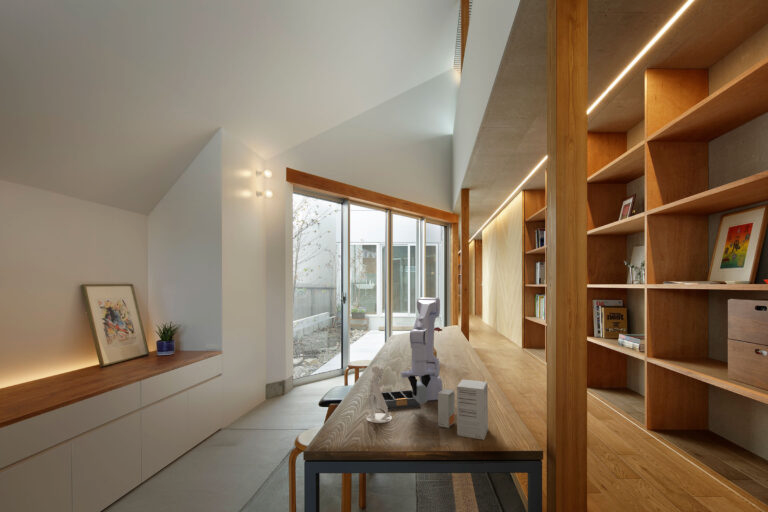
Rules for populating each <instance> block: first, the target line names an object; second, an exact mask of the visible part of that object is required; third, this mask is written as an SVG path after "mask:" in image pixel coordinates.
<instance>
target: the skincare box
mask: <svg viewBox="0 0 768 512" xmlns="http://www.w3.org/2000/svg"><path fill="white" fill-rule="evenodd" d="M455 398H456V397H455V390H453V389H449V388H443V389H442V391H440V392H439V393H438V400H437V425H438V427H443V428H446V429H449V428H450V427H452V426H453V425H454V424H455V423H456V422H455V420H456V419H455V418H456V417H455V414H456V413H455V410H456V407H455V400H456V399H455Z"/></svg>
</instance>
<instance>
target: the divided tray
mask: <svg viewBox="0 0 768 512" xmlns="http://www.w3.org/2000/svg"><path fill="white" fill-rule="evenodd" d="M381 393H382V395H383V398H384V400H385V403H386V405H387V407H388V411H389V410H397V409H398V410H399V409H407V408H417V407H421V403H418V402H417V401H416V400H415V399H414V398H413V390H412V389H407V390H396V391H385V392H382V391H381Z"/></svg>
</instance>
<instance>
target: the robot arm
mask: <svg viewBox="0 0 768 512" xmlns="http://www.w3.org/2000/svg"><path fill="white" fill-rule="evenodd" d="M416 300H417V301H416V309H417V311H418V314H419V316H418V317H417V318H416V319H415V322H414V325H413V329H412V330H410V331H409V344H410V349H411V370H406V371H401V372H400V378H401V379H405V378H407V379H408V381H409V383H410V387H411V390H412V391H413V395H414V396H416V395H417V389H416V387H417V381H418V379H417V377H418V378H419V381H420V382H421V383H422V384H424V385H425V386H426V392H427V402H428V401H438V393H439V392H440V391H442V390H443V381H442V378H441V377H440V371H441V369H440V360H439V358H438V357H437V356H435V354H434V347H435V346H434V344H435V343H434V342H435V322H436V318H439V317H440V314H441V313H440V312H441V300H440V298H439V297H421V296H418V298H417V299H416Z"/></svg>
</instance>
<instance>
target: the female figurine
mask: <svg viewBox="0 0 768 512" xmlns="http://www.w3.org/2000/svg"><path fill="white" fill-rule="evenodd" d="M371 372H372V375H371V377H370V379H369V381H370V389H369V393H367V395H368V399H367V407H368V408H369V410H370V409H371V413H370V414H369V415H367V416H366V420H367V421H368V422H370V423H375V424H385V423H388V422H390V421H391V420H393V418H392V417H393V416H392V415H390V413H389V410H388V407H387V405H386V403H385V400H384V398H383V395H382V390H383V389H384V388H385V387H388V386H391V385H392V384H384V385H383V387H382V389H381V387H380V386H382V385H379V381H380V380H382V379H384V375H383V374H384V370H383V368H380V367H379V366H378V365H377V364H374V365H372V366H371ZM362 388H364V387H362ZM362 388H361V389H362ZM351 390H357V391H359V392H360V393H361V394H363V395H365V393H364V392H362V391H360V388H356V387H354V388H351ZM380 409H381V410H382V411H384V413H383V412H381V413H380V412H379V413H377V412H375V411H376V410H380Z"/></svg>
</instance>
